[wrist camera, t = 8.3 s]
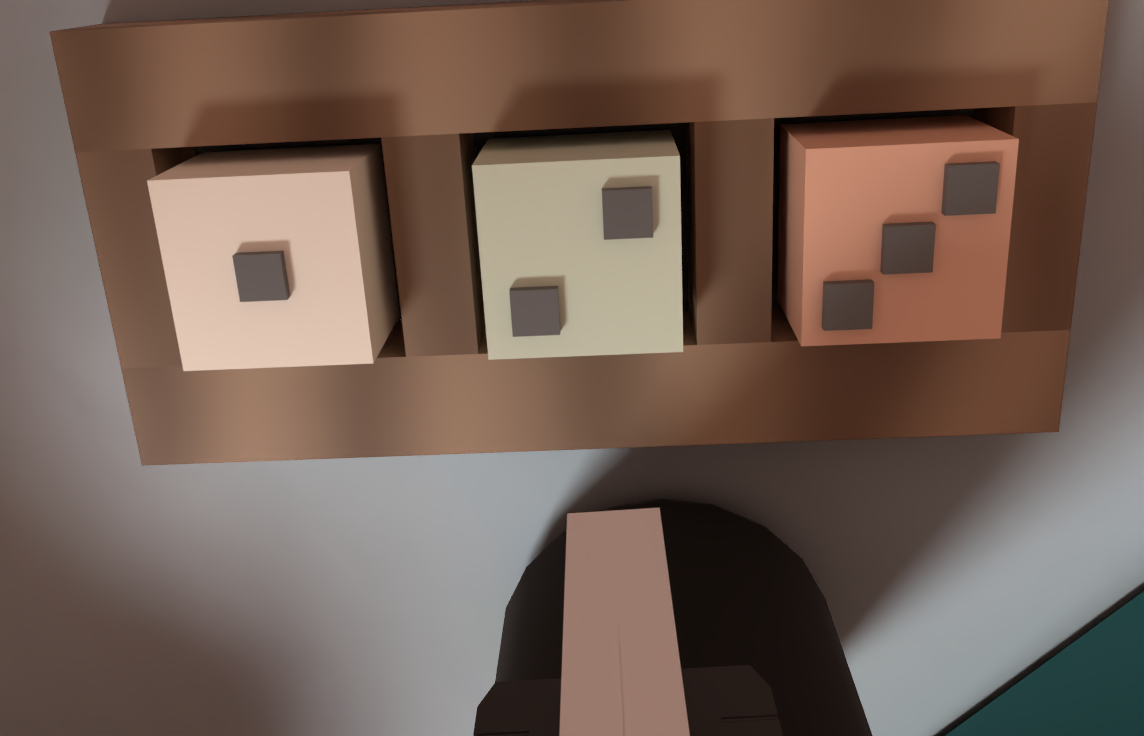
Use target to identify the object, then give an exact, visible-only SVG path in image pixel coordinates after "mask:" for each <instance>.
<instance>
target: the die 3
mask: <svg viewBox="0 0 1144 736" xmlns="http://www.w3.org/2000/svg"><path fill="white" fill-rule="evenodd" d="M1018 144H1019V139H1018V138H1016V137H1013V136H1011V135H1009V134H1007V133H1005V132H1002V131H1000V130H998V129H996V128H994V127H991V126H989V125H987V124H985V123H983V122H980V121H978V120H976V119H974V118H971V117H969V116H967V115H959V116H938V117H918V118H897V119H877V120H856V121H836V122H815V123H795V124H780V175H779V239H778V301H779V303H780V305H781V307H782V309H783V311H784V313H785V315H786V317H787V319H788V321H789V323H790V325H791V327H792V329H793V331H794V333H795V335H796V337H797V339H798V341H799V343H800V345H801V346H824V345H849V344H874V343H899V342H923V341H948V340H973V339H998V338H1001V328H1002V317H1003V306H1004V295H1005V284H1006V274H1007V263H1008V252H1009V241H1010V231H1011V220H1012V209H1013V198H1014V188H1015V177H1016V166H1017V155H1018Z"/></svg>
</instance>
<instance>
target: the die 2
mask: <svg viewBox="0 0 1144 736" xmlns="http://www.w3.org/2000/svg"><path fill="white" fill-rule="evenodd" d="M472 172H473V184H474V196H475V208H476V219H477V231H478V243H479V255H480V266H481V278H482V290H483V302H484V314H485V325H486V337H487V349H488V360H496V359H520V358H545V357H570V356H595V355H620V354H645V353H669V352H683V305H682V246H681V187H680V154H679V152H678V149H677V147H676V144H675V141H674V139H673V136H672V134H671V131H670V130H658V131H637V132H617V133H596V134H576V135H555V136H535V137H514V138H494V139H488V140H487V141H486V143H485V145H484V146H483V148H482V150H481V151H480V153H479V155H478V156H477V158H476V160H475V161H474V163H473V165H472Z"/></svg>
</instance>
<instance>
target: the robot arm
mask: <svg viewBox="0 0 1144 736" xmlns="http://www.w3.org/2000/svg"><path fill="white" fill-rule="evenodd" d="M474 736H783V733H782V729H781V725H780V721H779V720H778V713H777V709H776V705H775V701H774V697H773V694H772V690H771V687H770V686H769V685H768V684H767V683H766V682H765V681H764V679H763V678H762V677H761V676H760V675H759V674H758V673H757V672H756V671H755V670H754V669H753V668H752V667H751V665H738V666H721V667H704V668H686V669H681V665H680V658H679V650H678V643H677V635H676V628H675V620H674V613H673V605H672V597H671V590H670V582H669V575H668V567H667V560H666V552H665V545H664V537H663V530H662V522H661V515H660V508H646V509H630V510H614V511H598V512H583V513H567V534H566V563H565V591H564V620H563V648H562V676H561V678H556V679H539V680H521V681H504V682H495V684H494V685H493V687H492V688H491V689H490V691H489V692H488V693H487V695H486V696H485V697H484V699H483V700H482V701H481V703H480V704H479V705H478V707H477V714H476V721H475V728H474Z"/></svg>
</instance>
